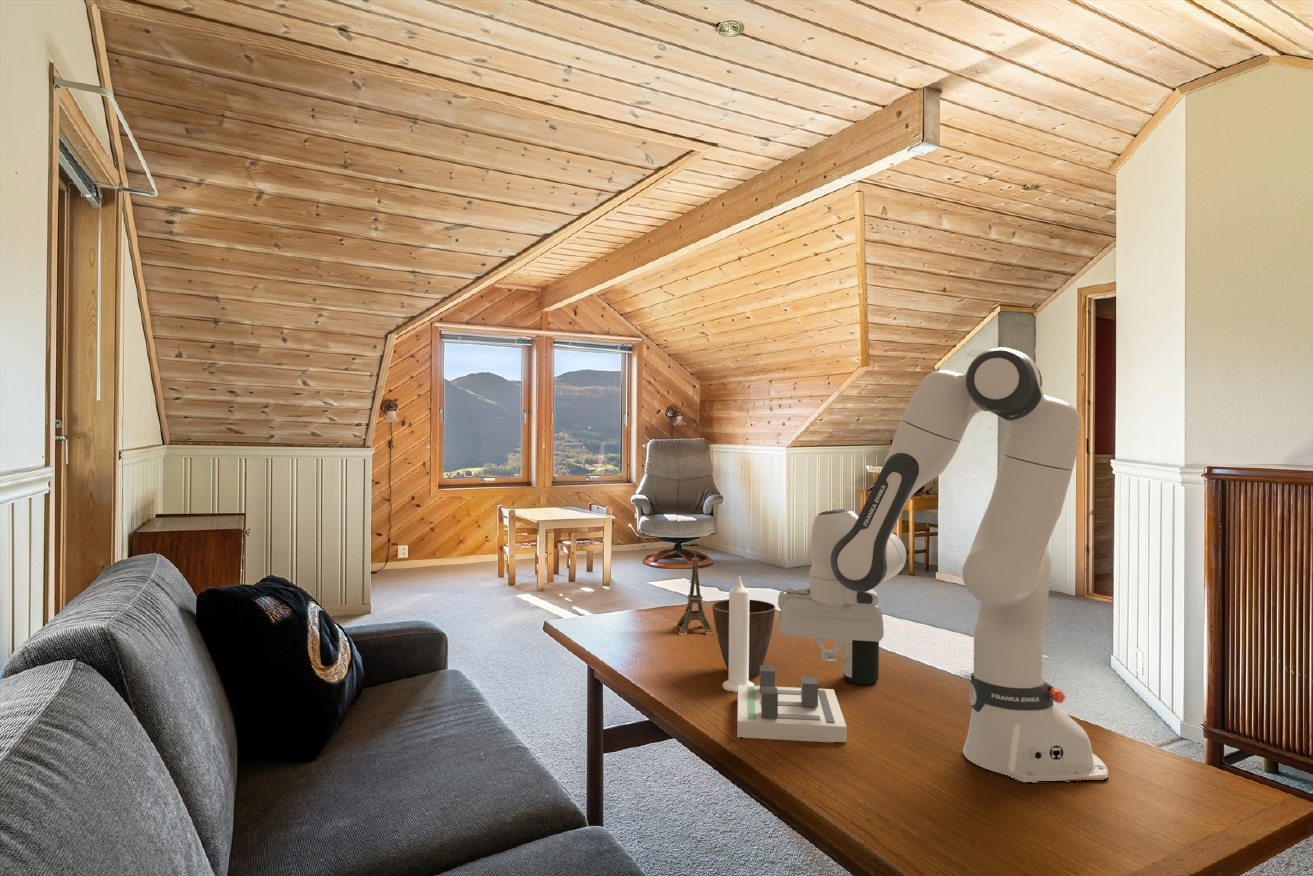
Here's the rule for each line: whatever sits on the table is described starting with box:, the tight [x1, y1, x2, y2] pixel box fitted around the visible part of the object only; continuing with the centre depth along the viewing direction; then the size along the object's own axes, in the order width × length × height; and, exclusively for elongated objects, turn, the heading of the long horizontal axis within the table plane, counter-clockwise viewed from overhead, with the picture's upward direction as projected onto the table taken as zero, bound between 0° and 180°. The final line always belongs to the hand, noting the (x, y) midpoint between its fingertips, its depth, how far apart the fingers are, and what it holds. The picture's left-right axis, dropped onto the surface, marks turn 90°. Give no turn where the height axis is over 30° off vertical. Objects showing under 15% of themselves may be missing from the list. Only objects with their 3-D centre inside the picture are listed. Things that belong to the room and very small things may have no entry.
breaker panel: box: [736, 685, 848, 743], centre depth 152 cm, size 20×21×3 cm
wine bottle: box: [842, 639, 880, 686], centre depth 177 cm, size 8×8×30 cm
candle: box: [722, 575, 755, 693], centre depth 171 cm, size 7×7×25 cm
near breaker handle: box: [761, 686, 778, 718], centre depth 146 cm, size 3×4×4 cm
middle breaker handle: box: [800, 676, 819, 707], centre depth 152 cm, size 3×4×4 cm
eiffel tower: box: [676, 548, 714, 633], centre depth 221 cm, size 11×11×25 cm
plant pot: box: [712, 599, 776, 678], centre depth 182 cm, size 15×15×16 cm
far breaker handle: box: [759, 664, 776, 692], centre depth 160 cm, size 3×4×4 cm
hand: (829, 660), depth 152 cm, fingers closed
